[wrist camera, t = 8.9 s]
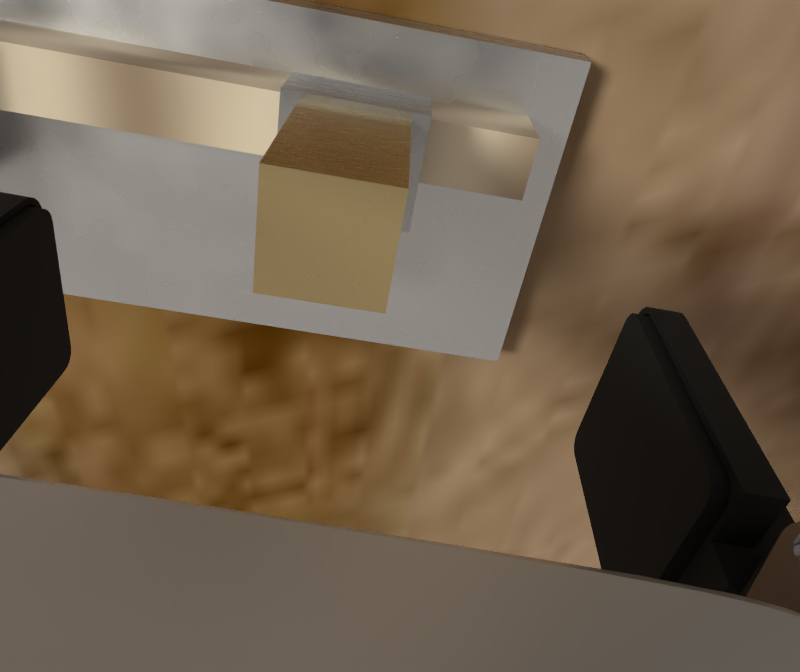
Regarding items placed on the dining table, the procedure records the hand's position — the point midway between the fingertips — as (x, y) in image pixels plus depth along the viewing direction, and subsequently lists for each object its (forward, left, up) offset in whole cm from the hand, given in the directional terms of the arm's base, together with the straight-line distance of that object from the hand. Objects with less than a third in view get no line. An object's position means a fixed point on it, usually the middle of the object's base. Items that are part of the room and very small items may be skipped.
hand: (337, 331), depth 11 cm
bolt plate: (+8, +3, -15) cm, 17 cm away
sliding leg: (+1, +2, -13) cm, 13 cm away
